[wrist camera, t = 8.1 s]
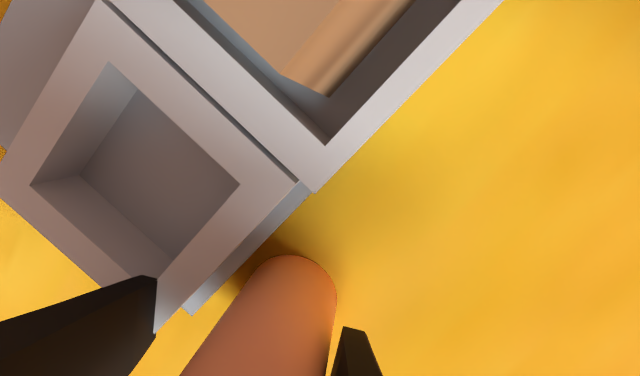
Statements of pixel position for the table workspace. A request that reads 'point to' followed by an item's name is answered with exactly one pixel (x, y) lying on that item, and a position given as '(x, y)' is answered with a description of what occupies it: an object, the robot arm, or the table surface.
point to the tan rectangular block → (312, 34)
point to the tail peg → (273, 324)
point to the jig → (183, 131)
